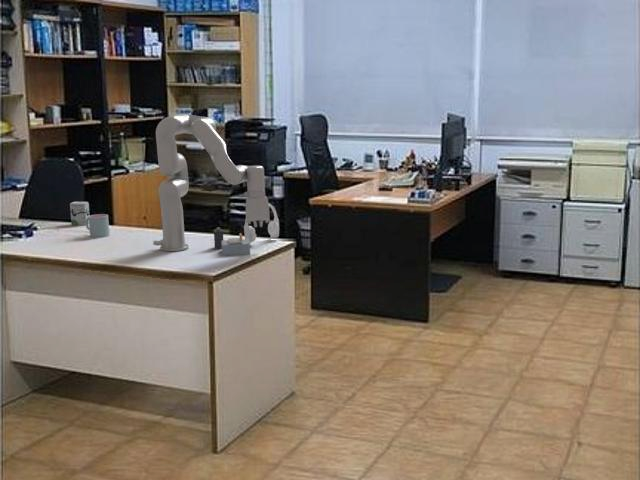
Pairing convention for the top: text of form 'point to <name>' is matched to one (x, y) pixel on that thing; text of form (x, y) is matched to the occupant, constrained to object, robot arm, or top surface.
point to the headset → (272, 228)
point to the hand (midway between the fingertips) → (258, 235)
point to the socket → (235, 248)
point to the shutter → (235, 240)
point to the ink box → (79, 213)
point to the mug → (98, 225)
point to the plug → (218, 238)
